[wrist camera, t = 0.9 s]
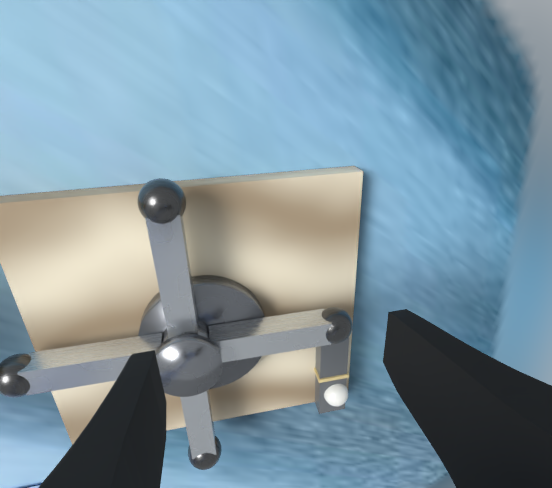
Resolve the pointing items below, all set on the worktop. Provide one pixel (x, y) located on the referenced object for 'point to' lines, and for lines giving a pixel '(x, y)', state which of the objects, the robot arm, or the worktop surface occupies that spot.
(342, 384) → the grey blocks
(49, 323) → the stand plate
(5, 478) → the worktop surface
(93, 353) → the cam capstan
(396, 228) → the worktop surface
